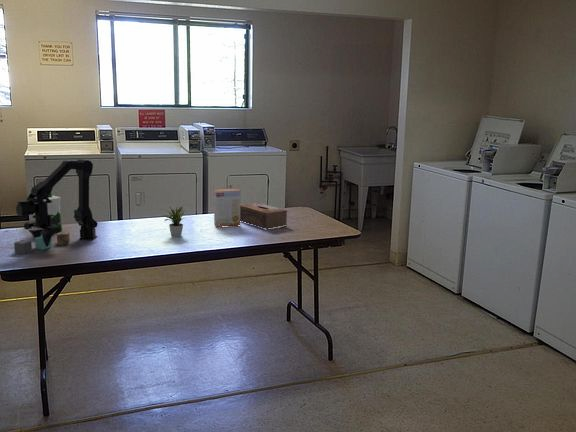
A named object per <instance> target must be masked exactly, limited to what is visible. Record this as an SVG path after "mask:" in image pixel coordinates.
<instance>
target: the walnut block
mask: <svg viewBox="0 0 576 432" xmlns="http://www.w3.org/2000/svg"><path fill="white" fill-rule="evenodd" d="M56 241H57V242H56V243H57V245H69V244H70V242H71V241H70V231H61V232H60V233H56Z"/></svg>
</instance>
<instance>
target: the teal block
mask: <svg viewBox="0 0 576 432" xmlns="http://www.w3.org/2000/svg"><path fill="white" fill-rule="evenodd" d="M34 244H35V245H34V246H35V249H38V250H47V249H50V248H52V246H53V245H52V239H51V240H50V243H49V246H47V247H46V245H45V242H44V239H43V236H42V235H41V236H40V237H35V238H34Z"/></svg>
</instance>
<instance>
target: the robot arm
mask: <svg viewBox="0 0 576 432" xmlns="http://www.w3.org/2000/svg"><path fill="white" fill-rule="evenodd" d="M93 168H94V165H93V162H92V161H91V160H89V159H83V158H79V159H77V160H63V161H62V162H61V164H60V165H59V166H58V167H56V168H55V170H54V171H53V172H52V173H50V174H49V175H48V176H47V177H46V178H45V179H44V180H43V181H40V182H38V183H36V184H35V185H34V186H33V187H32V188H31V189H30V193H29V195H28V197H27V198H26V200H18V201H17V204H16V207H15V212H16V214H17V216H18V217H24V216H30V215H32V219H34V220H33V221H29V222H25V223H23V228H24V230H28V232H29V233H30V234H31V236H32V237H33V238H34V239H35V237H40V236H43V239H44V242H45V245H46V247H47V246H49V243H50V240H51V241H52V237H53V235H55V234H57V233H60V232H62V231H61V228H60V227H59V226H58V225H59V221H60V219H55V218H52V216H51V215H49V214H48V205H47V203H52V201H51V200H49V198H47V197H48V196H49V195H50V193H52V191H53V188H54V187H55V186H56V185H57V184H58V183H59V182H60V181H61V180H62V179H63V178H64V177H65V176H66V175H67V174H68V173H69V172H70V171H71V170H75V173H76V175H77V177H78V207H77V209H74V210H73V213H74V215H73V218H74V220H75V222H76V223H77V224H78V226H79V227H80V229H79V240H85V241H86V240H87V241H88V240H89V241H92V240H94V239H96V238H98V235H97V234H96V228H97V227H98V225H99V223H98V221H96V220H95V219H94V218H93V217H94V216H93V212H92V210H91V207H90V177H91V176H92V173H93ZM52 225H57V226H52ZM48 226H49V227H48ZM43 230H45V232H44V231H43Z"/></svg>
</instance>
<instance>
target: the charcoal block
mask: <svg viewBox="0 0 576 432" xmlns="http://www.w3.org/2000/svg"><path fill="white" fill-rule="evenodd" d="M13 244H14V248H13V249H14V253H15V254H19V255H26V254H29V253H31V252H33V246H32V240H27V239H26V240H25V239H20V240H18V241H15V242H14V243H13Z"/></svg>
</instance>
